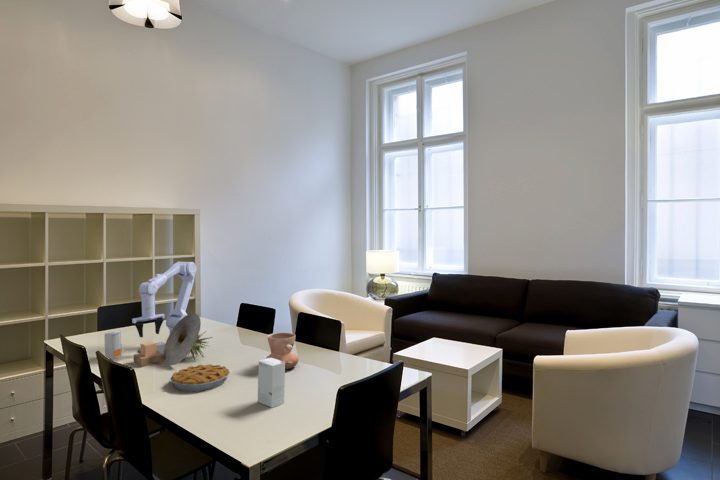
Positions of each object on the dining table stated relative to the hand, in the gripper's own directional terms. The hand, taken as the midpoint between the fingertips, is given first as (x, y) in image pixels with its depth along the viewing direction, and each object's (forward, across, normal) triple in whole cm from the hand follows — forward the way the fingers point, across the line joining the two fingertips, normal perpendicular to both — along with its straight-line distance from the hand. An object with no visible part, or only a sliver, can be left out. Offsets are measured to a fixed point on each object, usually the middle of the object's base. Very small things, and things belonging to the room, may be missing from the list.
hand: (149, 335), depth 214 cm
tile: (+10, +2, +8) cm, 13 cm away
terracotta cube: (+6, -5, -10) cm, 13 cm away
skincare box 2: (+10, +2, -92) cm, 92 cm away
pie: (+10, -3, -53) cm, 54 cm away
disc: (+10, +9, -21) cm, 25 cm away
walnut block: (+10, -5, -10) cm, 15 cm away
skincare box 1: (+10, -12, +11) cm, 19 cm away
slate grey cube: (+10, +4, 0) cm, 11 cm away
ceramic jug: (+10, +30, -63) cm, 70 cm away
